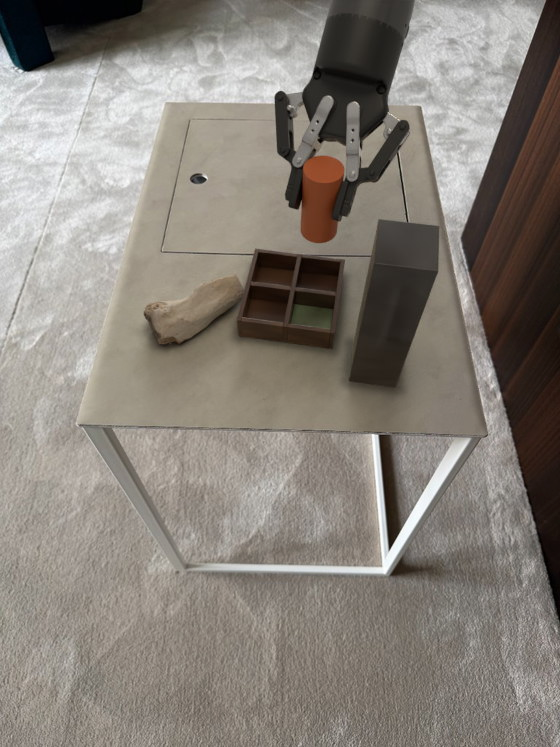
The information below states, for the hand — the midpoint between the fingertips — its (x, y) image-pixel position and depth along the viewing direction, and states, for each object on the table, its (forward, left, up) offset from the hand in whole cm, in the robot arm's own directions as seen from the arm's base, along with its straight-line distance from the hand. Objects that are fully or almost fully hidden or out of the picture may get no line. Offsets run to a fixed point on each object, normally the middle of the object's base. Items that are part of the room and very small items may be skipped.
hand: (315, 213), depth 55 cm
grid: (+3, -5, -22) cm, 22 cm away
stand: (-9, +3, -22) cm, 24 cm away
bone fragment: (+16, -1, -22) cm, 27 cm away
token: (0, -2, -4) cm, 4 cm away
